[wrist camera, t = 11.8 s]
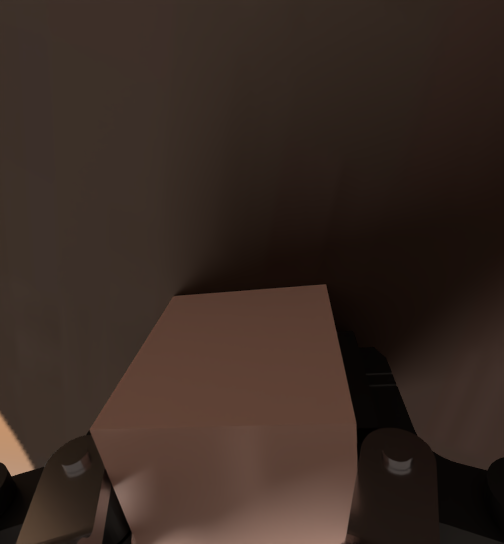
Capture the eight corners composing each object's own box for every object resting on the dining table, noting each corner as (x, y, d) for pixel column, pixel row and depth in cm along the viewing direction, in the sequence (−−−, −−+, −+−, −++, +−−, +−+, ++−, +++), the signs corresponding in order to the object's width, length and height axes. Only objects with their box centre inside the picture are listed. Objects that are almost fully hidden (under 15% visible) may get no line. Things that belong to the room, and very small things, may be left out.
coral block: (173, 296, 11) (89, 430, 6) (326, 284, 10) (356, 422, 6) (201, 410, 13) (151, 580, 8) (333, 406, 12) (360, 587, 7)
